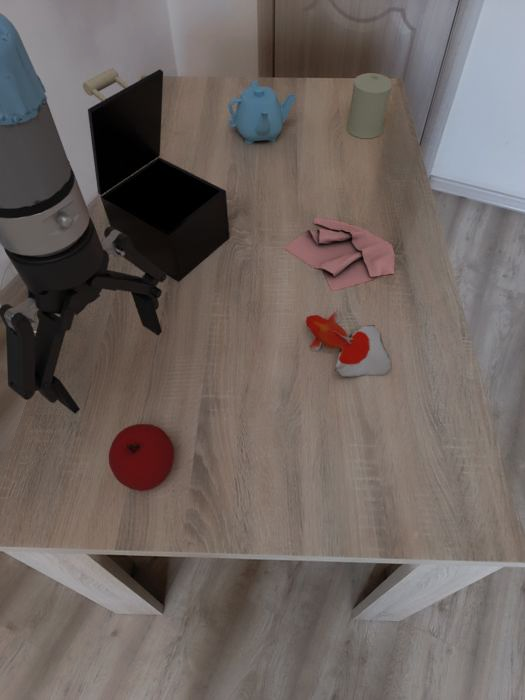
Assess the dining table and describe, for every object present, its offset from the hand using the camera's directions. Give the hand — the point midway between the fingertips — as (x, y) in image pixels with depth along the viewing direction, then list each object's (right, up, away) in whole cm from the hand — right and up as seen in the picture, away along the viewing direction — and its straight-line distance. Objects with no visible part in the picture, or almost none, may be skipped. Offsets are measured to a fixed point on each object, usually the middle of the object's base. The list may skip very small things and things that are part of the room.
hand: (113, 365), depth 57 cm
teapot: (+18, +57, +63) cm, 87 cm away
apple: (+1, -16, +14) cm, 21 cm away
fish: (+32, +1, +25) cm, 41 cm away
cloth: (+34, +22, +40) cm, 57 cm away
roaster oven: (-1, +25, +41) cm, 48 cm away
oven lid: (-5, +39, +26) cm, 47 cm away
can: (+44, +59, +65) cm, 98 cm away
